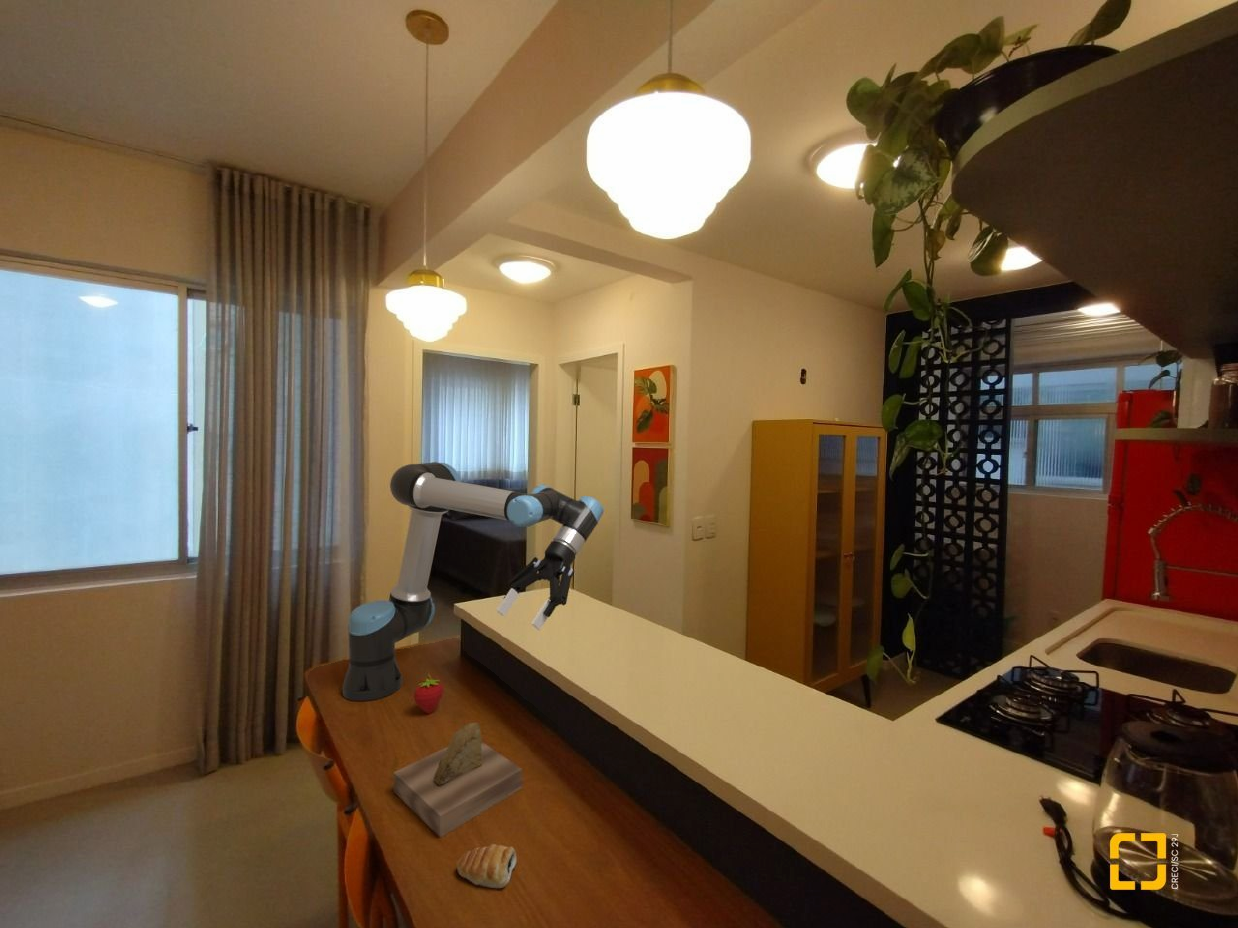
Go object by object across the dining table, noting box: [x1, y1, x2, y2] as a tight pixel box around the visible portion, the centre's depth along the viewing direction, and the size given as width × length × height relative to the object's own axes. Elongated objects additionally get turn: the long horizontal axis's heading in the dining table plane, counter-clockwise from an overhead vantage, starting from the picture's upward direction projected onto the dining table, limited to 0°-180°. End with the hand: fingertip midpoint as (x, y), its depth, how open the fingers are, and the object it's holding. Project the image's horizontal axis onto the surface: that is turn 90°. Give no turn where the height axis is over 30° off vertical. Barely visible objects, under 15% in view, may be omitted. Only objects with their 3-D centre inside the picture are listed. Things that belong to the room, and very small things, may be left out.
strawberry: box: [413, 673, 445, 714], centre depth 135 cm, size 6×8×10 cm
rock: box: [434, 721, 483, 785], centre depth 106 cm, size 11×9×10 cm
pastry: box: [455, 843, 518, 889], centre depth 86 cm, size 9×7×4 cm
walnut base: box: [393, 741, 523, 839], centre depth 106 cm, size 18×18×4 cm
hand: (517, 620), depth 125 cm, fingers open, 13 cm apart
